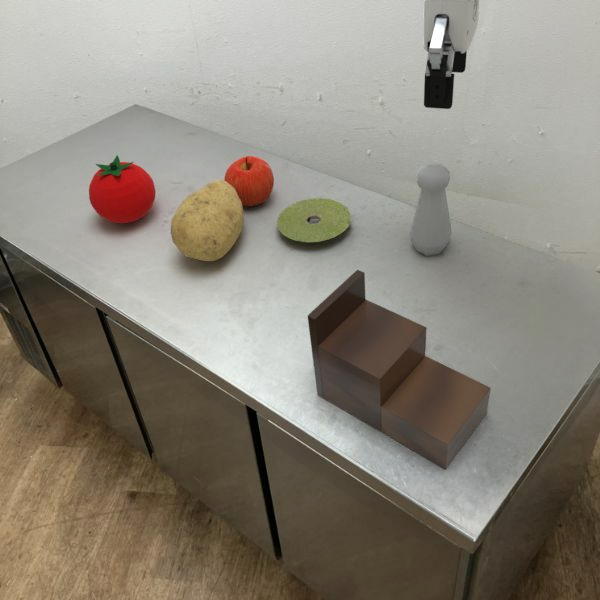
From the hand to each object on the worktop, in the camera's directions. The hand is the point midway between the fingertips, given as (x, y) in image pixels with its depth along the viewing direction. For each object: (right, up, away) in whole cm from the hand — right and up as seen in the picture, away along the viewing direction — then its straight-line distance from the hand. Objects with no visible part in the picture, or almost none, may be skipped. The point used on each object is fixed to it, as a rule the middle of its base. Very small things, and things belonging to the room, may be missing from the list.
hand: (445, 88), depth 78 cm
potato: (-30, -18, +20) cm, 40 cm away
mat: (-15, -15, +21) cm, 30 cm away
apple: (-25, -9, +29) cm, 39 cm away
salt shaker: (+1, -18, +15) cm, 24 cm away
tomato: (-46, -12, +29) cm, 55 cm away
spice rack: (-6, -38, -5) cm, 38 cm away
